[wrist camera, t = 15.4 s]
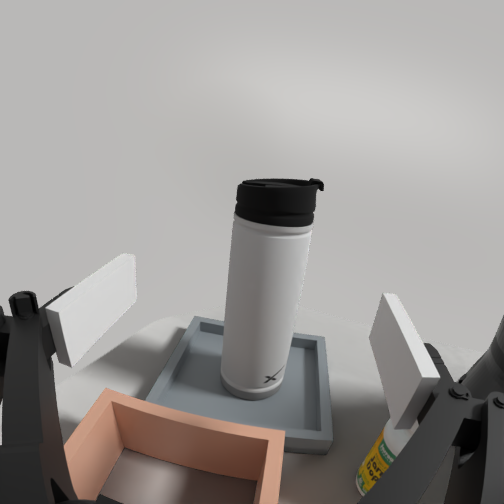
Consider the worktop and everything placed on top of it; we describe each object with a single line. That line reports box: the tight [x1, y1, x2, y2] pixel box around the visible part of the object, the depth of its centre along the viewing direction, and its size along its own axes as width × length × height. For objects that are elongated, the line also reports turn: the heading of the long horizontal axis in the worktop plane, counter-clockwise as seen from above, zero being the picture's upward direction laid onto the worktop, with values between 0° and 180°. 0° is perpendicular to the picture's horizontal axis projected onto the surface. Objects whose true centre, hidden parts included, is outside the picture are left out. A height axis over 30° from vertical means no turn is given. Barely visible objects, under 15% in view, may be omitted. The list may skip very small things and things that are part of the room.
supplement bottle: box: [356, 418, 419, 497], centre depth 17 cm, size 5×5×10 cm
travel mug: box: [220, 178, 324, 400], centre depth 27 cm, size 6×7×20 cm
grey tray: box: [145, 316, 333, 455], centre depth 30 cm, size 16×16×2 cm
